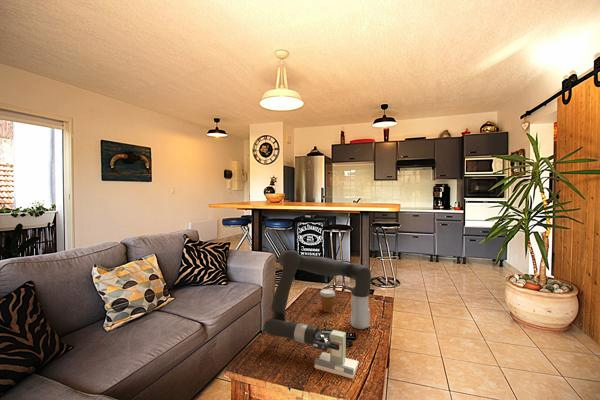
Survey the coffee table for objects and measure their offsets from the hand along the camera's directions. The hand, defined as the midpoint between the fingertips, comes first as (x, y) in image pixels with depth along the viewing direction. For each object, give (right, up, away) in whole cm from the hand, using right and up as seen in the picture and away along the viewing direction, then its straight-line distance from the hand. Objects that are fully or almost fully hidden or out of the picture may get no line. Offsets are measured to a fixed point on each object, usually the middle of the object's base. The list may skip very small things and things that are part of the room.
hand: (342, 342), depth 116 cm
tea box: (-2, -8, +1) cm, 9 cm away
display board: (-2, -10, 0) cm, 10 cm away
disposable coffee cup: (-1, -9, +56) cm, 57 cm away
